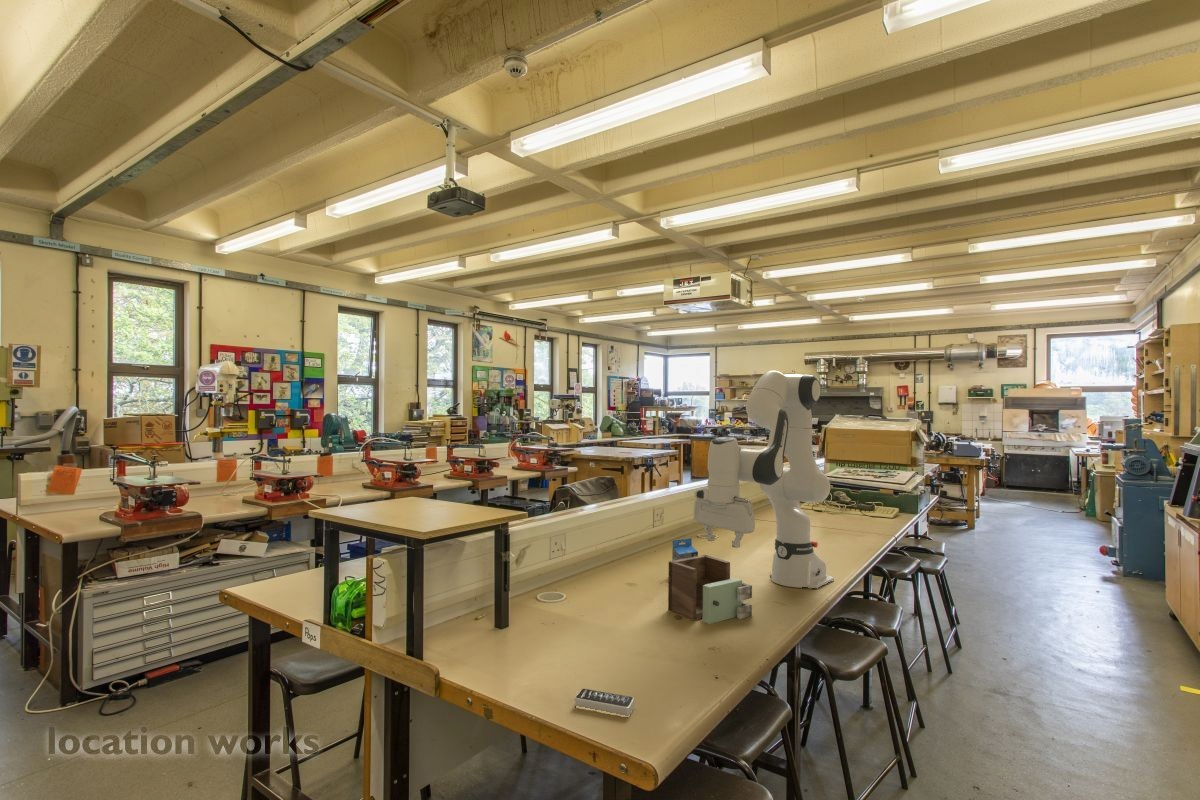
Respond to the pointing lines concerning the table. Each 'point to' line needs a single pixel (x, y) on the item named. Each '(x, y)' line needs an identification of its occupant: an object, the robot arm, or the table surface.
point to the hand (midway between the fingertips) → (723, 543)
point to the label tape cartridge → (683, 549)
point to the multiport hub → (605, 701)
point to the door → (720, 600)
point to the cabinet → (700, 585)
